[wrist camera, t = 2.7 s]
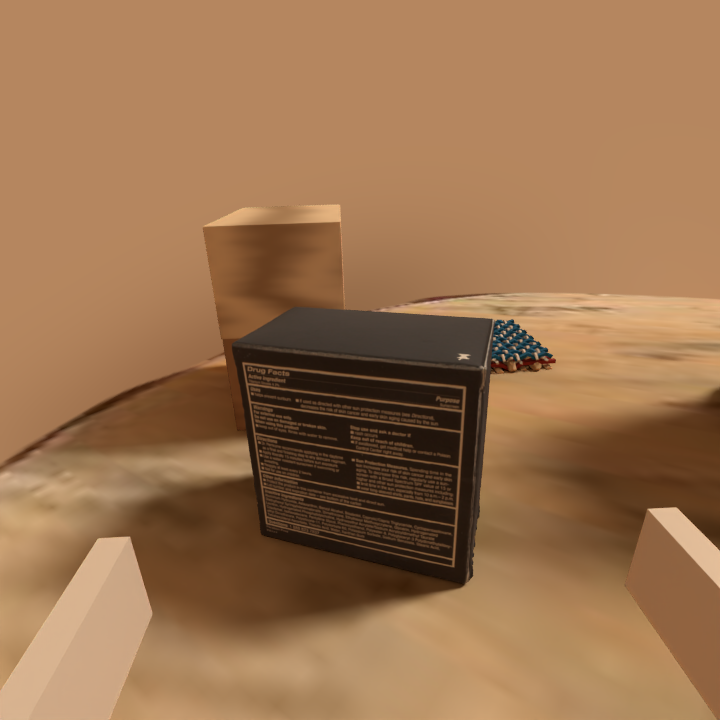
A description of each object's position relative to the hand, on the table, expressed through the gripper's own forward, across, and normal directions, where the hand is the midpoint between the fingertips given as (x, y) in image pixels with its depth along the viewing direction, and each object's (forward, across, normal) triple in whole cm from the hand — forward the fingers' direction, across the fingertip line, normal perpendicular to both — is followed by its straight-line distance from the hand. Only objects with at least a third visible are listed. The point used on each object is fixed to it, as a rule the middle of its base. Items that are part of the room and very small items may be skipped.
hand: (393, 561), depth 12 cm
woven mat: (+31, +12, -8) cm, 34 cm away
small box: (+10, 0, -8) cm, 13 cm away
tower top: (+25, -5, 0) cm, 25 cm away
